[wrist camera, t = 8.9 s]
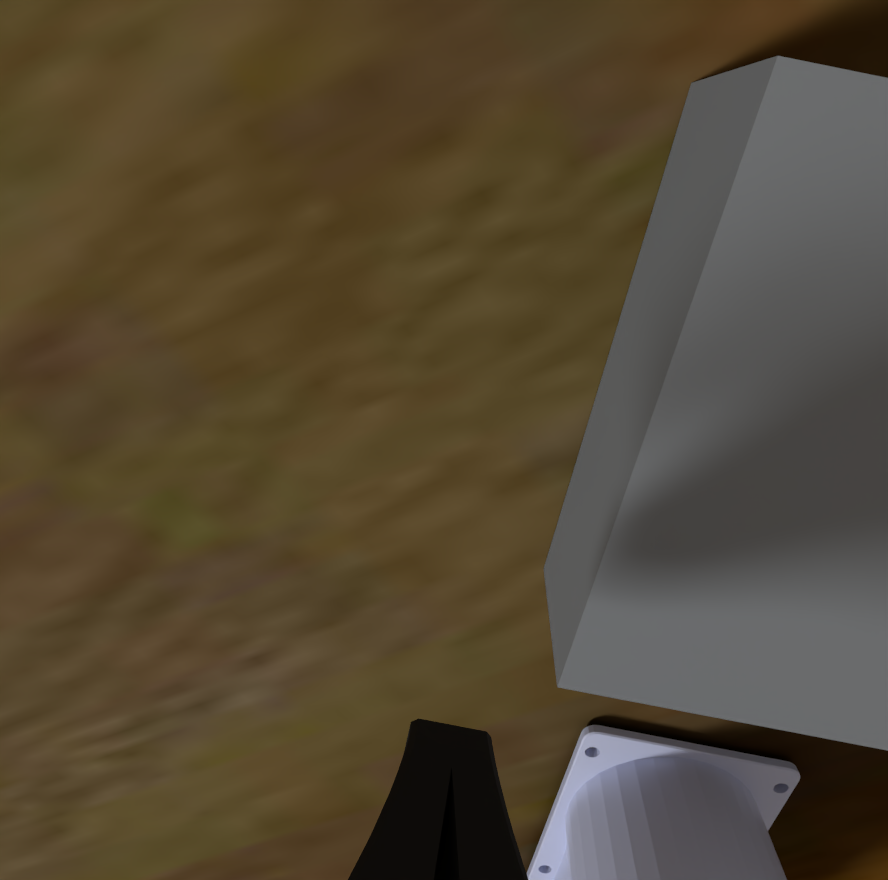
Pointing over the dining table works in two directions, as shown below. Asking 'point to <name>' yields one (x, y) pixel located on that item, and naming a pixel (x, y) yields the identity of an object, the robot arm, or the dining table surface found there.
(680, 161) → the grey drawer housing
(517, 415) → the dining table surface
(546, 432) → the dining table surface
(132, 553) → the dining table surface
